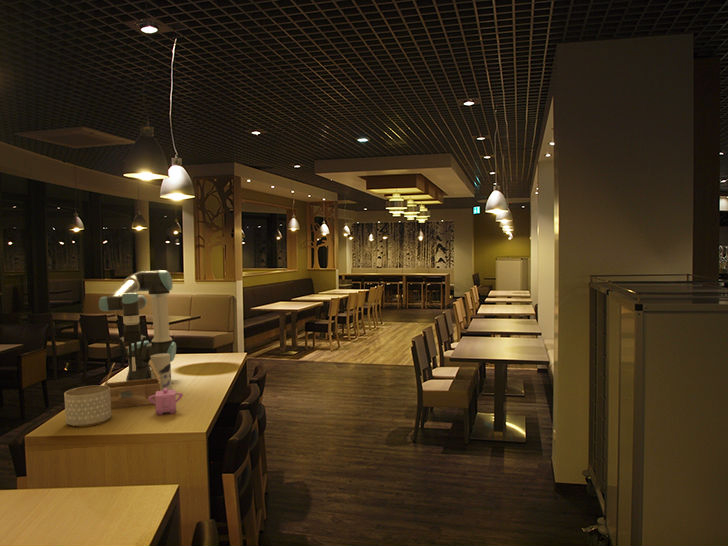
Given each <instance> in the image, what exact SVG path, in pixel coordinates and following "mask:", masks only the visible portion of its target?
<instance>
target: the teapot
mask: <svg viewBox="0 0 728 546" xmlns="http://www.w3.org/2000/svg"><path fill="white" fill-rule="evenodd" d="M176 395H178V397H176ZM183 396H184V395H183V393H182V392H176V389H172V390H168V389H167V388H165V389H164V390H163V391H156V395H153V396H150V397H148V400H149V401H150V402H151V403H153V404H152V405H155V414H157V416H162V415H163V414H164V413H165V414H166V413H169V414H170V415H174V414H175V412H176V411H177V403H178V402H179V401H180V400H181V399H182V398H183ZM153 397H155V402H154V401H153V400H152V398H153Z"/></svg>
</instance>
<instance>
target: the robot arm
mask: <svg viewBox="0 0 728 546" xmlns="http://www.w3.org/2000/svg"><path fill="white" fill-rule="evenodd" d="M172 290H173V279H172V275H171V273H170V272H169V271H168V270H161V269H158V270H141V271H137V272H135V273H132V274H130V275H128V276H127V277H126V278H124V280H123V281H122V283H121V285H119V286H118V288H116V289H115V290H114V291H113V292H112V293H111V294H110V295H109V296H101V297H100V298H99V301H98V308H99V310H100V311H102V312H119V311H122V319H123V320H122V321H123V324H124V325H123V334H122V337H120V338H119V339H118V341H119V343H120V345H121V348H122V350H123V351H122V352H123V353H124V356H125V358H127V360H128V361H127V362H128V372H127V375H126V379H125V381H133V380H144V379H152V376H151V368H150V366H149V361H150V359H151V357H150V356H151V355H155V354H163V353H166V354H170V363H172V362H173V361H174V360H175V357H176V353H177V343H176V342H175V341H173V338H172V337H171V336H170V323H169V305H168V296H169V295H170V291H172ZM138 292H148V295H149V297H151V309H152V311H151V312H152V324H153V338H152V340H151V341H150V342H149V340H146V338H147V337H146V336H145V335H143V334H142V333H141V325H140V322H141V321H140V310H143V309H144V308H145V307H146V305H147V303H148V302H147V298H146V296H144V295H143V294H138ZM139 339H140V341H139ZM125 341H126V342H127V343H128V346H127V347H126V344H125Z"/></svg>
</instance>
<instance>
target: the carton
mask: <svg viewBox="0 0 728 546" xmlns="http://www.w3.org/2000/svg"><path fill="white" fill-rule="evenodd" d="M105 386H109V387H110V397H111V410H113V409H114V410H115V409H123V408H133V407H142V406H149V405H150V406H152V405H154V404H153V403H151V402H150V401H149V400H148V397H150V396H153V395H156V391H161V378H160V379H159V381H158V380H157V378H154V379H144V380H133V381H126V380H123V381H115V382H107V383H106V385H105ZM152 400H153V401H154V402H155V397H153V398H152Z"/></svg>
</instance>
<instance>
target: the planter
mask: <svg viewBox="0 0 728 546" xmlns="http://www.w3.org/2000/svg"><path fill="white" fill-rule="evenodd" d="M63 395H64V397H63V398H64V411H65V412H64V413H65V423H66V424H67V425H69V426H71V425H74V426H87V427H92V426H91V425H93V426H96V425H100V424H103V423H105V422H107V421H108V420H109V419H110V418H111V417H112V409H111V397H110V387H109V386H104V384H103V385H102V384H101V385H98V384H97V385H95V384H94V385H86V386H80V387H75V388H71V389H68V390H66V391H65V392H64V393H63ZM74 426H73V427H74Z"/></svg>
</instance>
